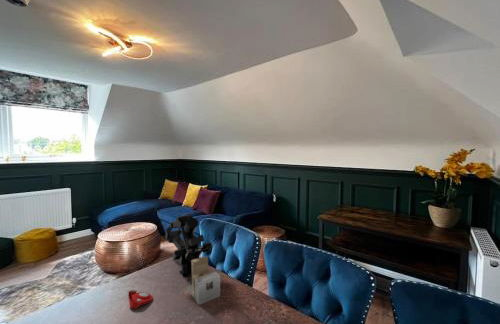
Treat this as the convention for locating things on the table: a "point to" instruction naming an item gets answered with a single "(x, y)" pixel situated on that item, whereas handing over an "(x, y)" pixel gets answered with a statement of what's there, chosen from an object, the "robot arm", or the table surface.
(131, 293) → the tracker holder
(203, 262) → the shaft carriage
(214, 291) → the bearing block
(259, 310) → the table surface
